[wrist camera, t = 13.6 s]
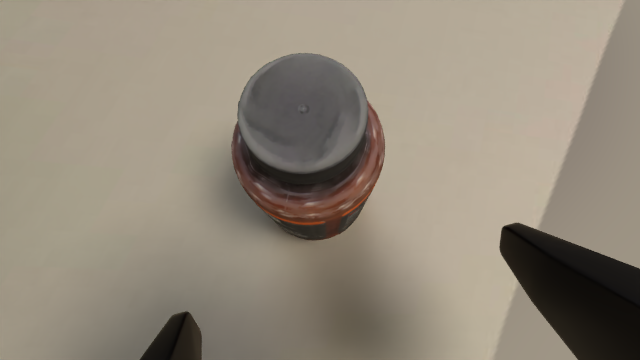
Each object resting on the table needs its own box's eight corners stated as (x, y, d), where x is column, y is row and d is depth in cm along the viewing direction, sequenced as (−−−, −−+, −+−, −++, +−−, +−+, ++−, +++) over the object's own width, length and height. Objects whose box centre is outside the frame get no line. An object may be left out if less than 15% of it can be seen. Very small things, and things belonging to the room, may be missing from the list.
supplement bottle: (366, 153, 21) (411, 32, 10) (359, 246, 20) (402, 219, 9) (274, 144, 22) (224, 16, 11) (260, 235, 20) (184, 196, 9)
